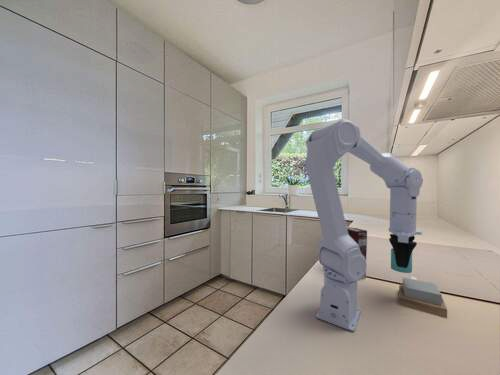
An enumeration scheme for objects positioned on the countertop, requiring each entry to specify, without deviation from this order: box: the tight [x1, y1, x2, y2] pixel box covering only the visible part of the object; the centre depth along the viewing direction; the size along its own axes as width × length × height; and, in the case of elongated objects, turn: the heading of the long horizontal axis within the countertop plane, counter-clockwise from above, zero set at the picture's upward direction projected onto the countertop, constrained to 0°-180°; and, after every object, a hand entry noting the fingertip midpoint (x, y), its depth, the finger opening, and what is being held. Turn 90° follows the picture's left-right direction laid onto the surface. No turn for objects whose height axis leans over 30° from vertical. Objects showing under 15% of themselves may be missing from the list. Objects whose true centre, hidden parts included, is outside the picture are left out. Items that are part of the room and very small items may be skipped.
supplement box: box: [346, 225, 368, 280], centre depth 72 cm, size 9×5×16 cm, turn 25°
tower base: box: [398, 283, 448, 318], centre depth 55 cm, size 9×9×2 cm
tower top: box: [401, 277, 443, 305], centre depth 55 cm, size 7×7×2 cm
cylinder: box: [390, 248, 413, 274], centre depth 56 cm, size 5×5×5 cm
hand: (401, 264), depth 56 cm, fingers closed on cylinder, 5 cm apart
